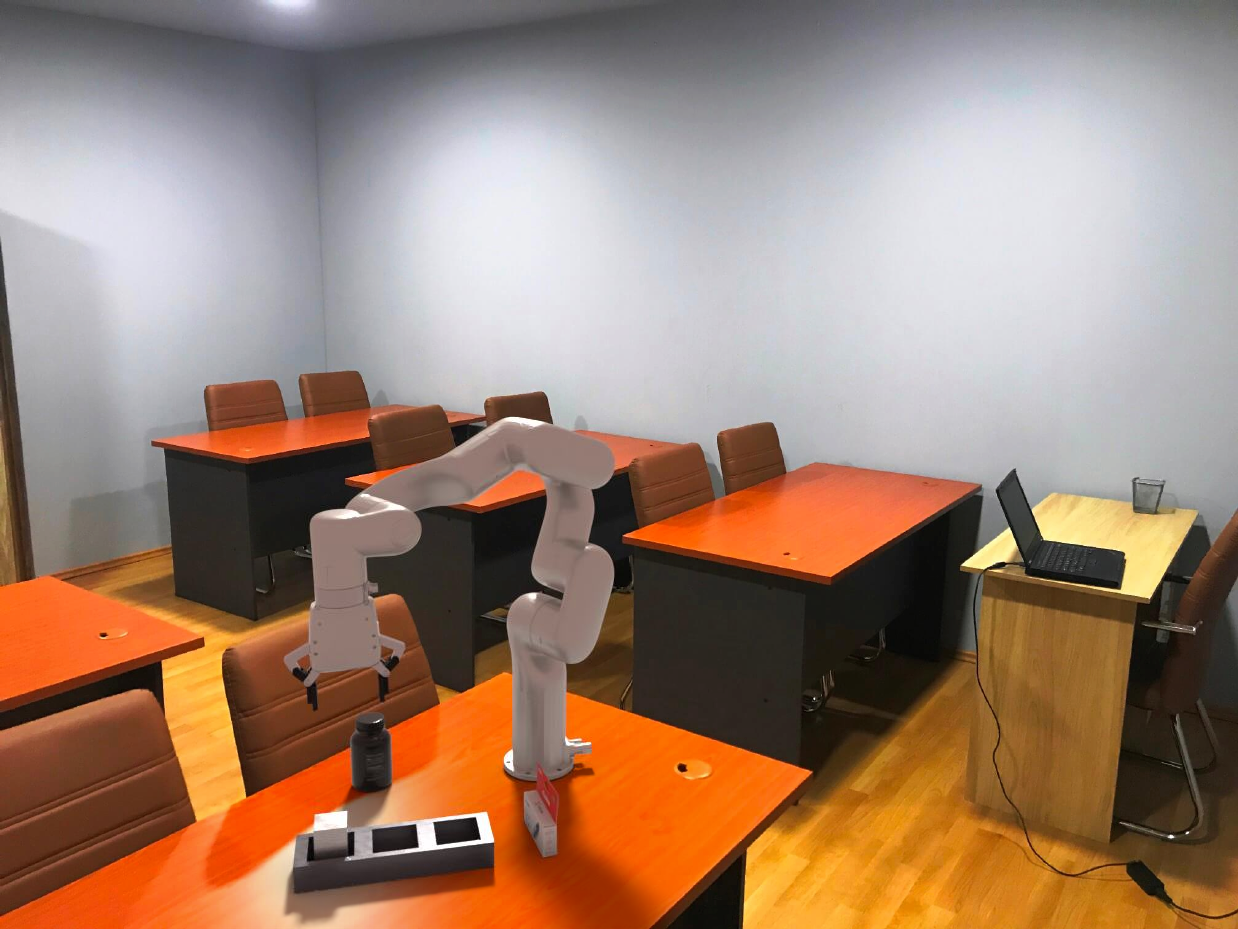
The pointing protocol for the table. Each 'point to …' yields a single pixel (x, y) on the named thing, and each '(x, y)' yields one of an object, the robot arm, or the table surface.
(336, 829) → the light grey block
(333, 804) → the table surface
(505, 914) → the table surface
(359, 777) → the supplement bottle
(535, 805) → the ink cartridge box
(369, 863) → the dark grey compartment tray
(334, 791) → the table surface
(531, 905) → the table surface
